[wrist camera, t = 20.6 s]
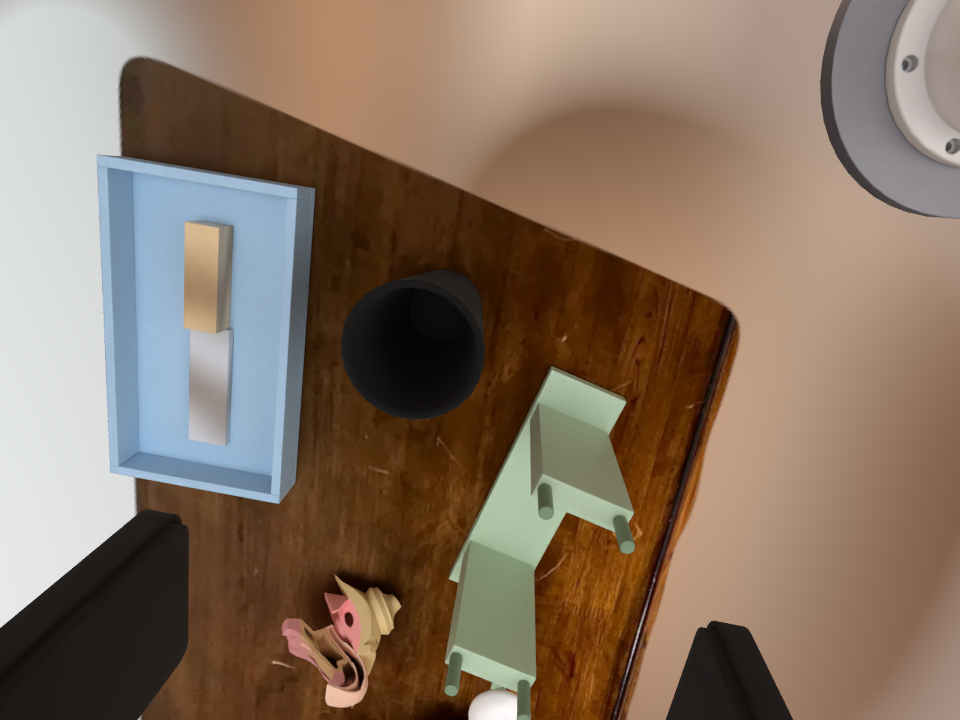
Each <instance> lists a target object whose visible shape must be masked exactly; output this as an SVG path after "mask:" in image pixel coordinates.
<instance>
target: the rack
mask: <svg viewBox="0 0 960 720" xmlns="http://www.w3.org/2000/svg"><path fill="white" fill-rule="evenodd" d="M625 404H626V400H625V398H624V397H622V396H620V395H618V394H615V393H613V392H611V391H608V390H606V389H604V388H601V387H599V386H597V385H595V384H592V383H590V382H588V381H585V380H583V379H581V378H578V377H576V376H574V375H571V374H569V373H567V372H565V371H562V370H560V369H558V368H555V367H553V366H551V367H550V369H549V371H548V373H547V375H546V377H545V379H544V381H543V383H542V386H541V388H540V390H539V392H538V394H537V396H536V398H535V400H534V402H533V404H532V406H531V408H530V410H529V412H528V414H527V416H526V418H525V420H524V422H523V424H522V426H521V428H520V430H519V432H518V434H517V436H516V438H515V441H514V443H513V445H512V447H511V449H510V451H509V453H508V455H507V457H506V459H505V461H504V463H503V465H502V467H501V469H500V471H499V473H498V475H497V477H496V479H495V481H494V483H493V485H492V487H491V489H490V491H489V494H488V496H487V498H486V500H485V502H484V504H483V506H482V508H481V510H480V512H479V514H478V516H477V518H476V520H475V522H474V524H473V526H472V528H471V530H470V532H469V534H468V536H467V538H466V540H465V542H464V544H463V546H462V549H461V551H460V553H459V555H458V557H457V559H456V561H455V563H454V565H453V567H452V569H451V571H450V575H449V579H450V580H452V581H455V582H457V583H458V588H457V594H456V600H455V606H454V611H453V617H452V623H451V629H450V634H449V640H448V646H447V652H446V657H445V663H446V664H448V671H447V678H446V684H445V693H446V694H447V695H449V696H455V695H456V694H457V693H458V689H459V682H460V674H461V670H463V671H466V672H468V673H471V674H473V675H475V676H478V677H480V678H483V679H485V680H488V681H490V682H493V683H495V684H498V685H500V686H503V687H505V688H508V689H510V690H513V691H515V692H517V720H531V717H530V688H531V686H532V684H533V683H534V681H535V679H536V648H535V596H534V570H535V568H536V566H537V565H538V563H539V561H540V559H541V557H542V555H543V554H544V552H545V550H546V548H547V546H548V544H549V543H550V541H551V539H552V537H553V535H554V534H555V532H556V530H557V528H558V526H559V524H560V523H561V521H562V519H563V517H564V515H565V513H566V512H568V513H570V514H573V515H575V516H577V517H580V518H582V519H585V520H587V521H589V522H592V523H594V524H596V525H599V526H601V527H604V528H606V529H608V530H611V531H613V532H615V533H616V537H617V541H618V545H619V548H620V550H621V552H623V553H625V554H630V553H632V552H633V551H634V549H635V544H634V541H633V538H632V534H631V531H630V528H629V524H628V522H629V521H630V519H631V517H632V516H633V514H634V511H633V508H632V505H631V502H630V499H629V496H628V493H627V490H626V487H625V484H624V481H623V478H622V475H621V472H620V469H619V466H618V463H617V460H616V457H615V454H614V451H613V448H612V445H611V442H610V439H609V436H608V435H609V433H610V431H611V429H612V428H613V426H614V424H615V422H616V420H617V419H618V417H619V415H620V413H621V411H622V409H623V408H624V406H625Z"/></svg>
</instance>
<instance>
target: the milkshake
mask: <svg viewBox="0 0 960 720" xmlns="http://www.w3.org/2000/svg"><path fill="white" fill-rule="evenodd" d="M530 717H531V714H530ZM468 718H469V720H517V692H515V691H513V690H510V689H508V688H505V687H503V686H500V685H498V684H495V683H493V682H490V681H488V680H485V679H483V678H480V677H478V676H477V677H476V681H475V686H474V690H473V695H472V699H471V703H470V708H469V714H468Z"/></svg>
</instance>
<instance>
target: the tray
mask: <svg viewBox="0 0 960 720" xmlns="http://www.w3.org/2000/svg"><path fill="white" fill-rule="evenodd" d="M97 165H98V166H97V172H98V195H99V219H100V242H101V266H102V290H103V313H104V335H105V336H104V337H105V359H106V384H107V407H108V430H109V452H110V453H109V454H110V472H111V473H116V474H121V475H126V476H132V477H137V478H142V479H148V480H153V481H159V482H164V483H169V484H175V485H180V486H186V487H191V488H197V489H202V490H207V491H213V492H218V493H224V494H229V495H234V496H240V497H245V498H251V499H256V500H262V501H267V502H272V503H278V504H279V503H280V502H281V500H282V499H283V498H284V497H285V495H286V494H287V493H288V492H289V490H290V489H291V488H292V486H293V485H294V484H295V482H296V467H297V453H298V438H299V423H300V408H301V394H302V379H303V364H304V349H305V335H306V320H307V305H308V290H309V275H310V261H311V246H312V231H313V216H314V202H315V188H310V187H304V186H298V185H292V184H286V183H280V182H274V181H268V180H263V179H257V178H251V177H245V176H239V175H233V174H227V173H221V172H215V171H209V170H203V169H197V168H191V167H185V166H179V165H173V164H167V163H161V162H155V161H149V160H143V159H137V158H131V157H120V156H108V155H97ZM197 220H203V221H209V222H214V223H220V224H226V225H231V226H233V251H232V279H231V308H230V328H233V329H234V332H233V359H232V385H231V412H230V439H229V444H227V445H226V446H221V445H215V444H210V443H205V442H200V441H194V440H189V365H190V329H186V328H184V245H185V222H186V221H197Z"/></svg>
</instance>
